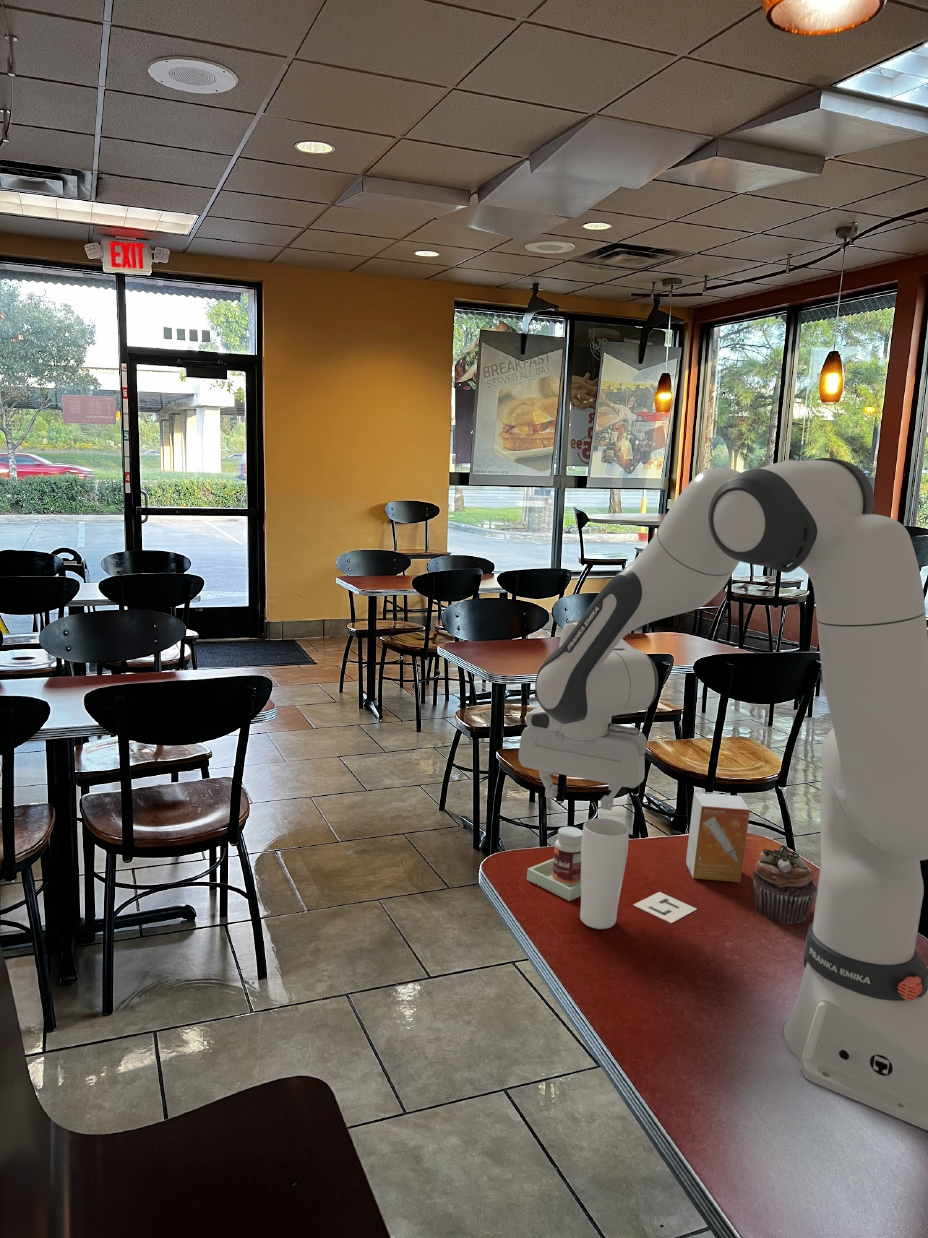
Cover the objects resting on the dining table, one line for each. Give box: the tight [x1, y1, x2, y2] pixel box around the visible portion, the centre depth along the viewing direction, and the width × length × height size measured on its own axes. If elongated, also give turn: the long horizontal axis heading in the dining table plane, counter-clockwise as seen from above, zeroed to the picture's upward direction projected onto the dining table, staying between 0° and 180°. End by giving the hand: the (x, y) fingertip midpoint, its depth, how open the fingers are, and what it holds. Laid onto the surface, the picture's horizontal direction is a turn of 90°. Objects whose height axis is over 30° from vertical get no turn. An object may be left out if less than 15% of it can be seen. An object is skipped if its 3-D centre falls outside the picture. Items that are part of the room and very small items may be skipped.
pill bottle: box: [552, 826, 583, 886], centre depth 148 cm, size 5×5×8 cm
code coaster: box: [632, 891, 698, 924], centre depth 142 cm, size 7×7×1 cm
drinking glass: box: [579, 817, 630, 930], centre depth 135 cm, size 7×7×15 cm
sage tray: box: [526, 857, 581, 902], centre depth 148 cm, size 9×9×2 cm
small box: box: [685, 792, 751, 883], centre depth 154 cm, size 8×6×13 cm
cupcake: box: [752, 844, 818, 925], centre depth 142 cm, size 10×10×10 cm
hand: (578, 802), depth 146 cm, fingers open, 8 cm apart
